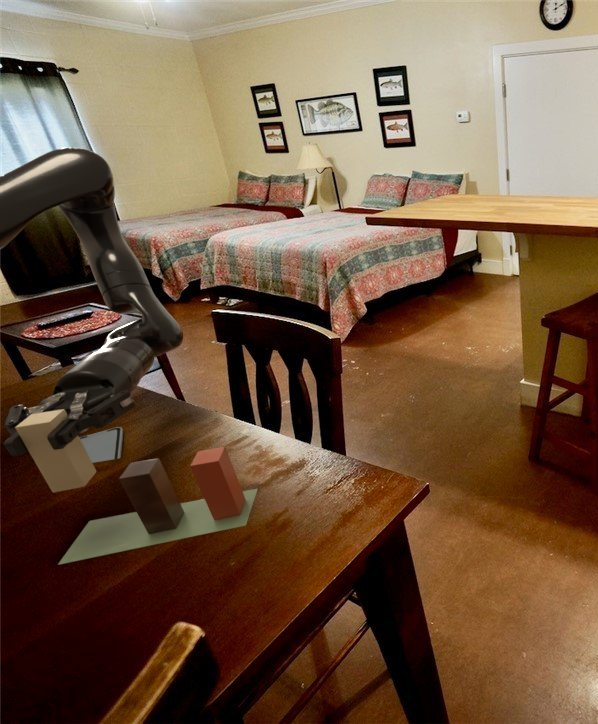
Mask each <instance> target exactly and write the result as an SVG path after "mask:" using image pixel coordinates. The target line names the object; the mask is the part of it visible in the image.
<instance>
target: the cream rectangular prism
mask: <svg viewBox="0 0 598 724" xmlns="http://www.w3.org/2000/svg"><path fill="white" fill-rule="evenodd" d="M63 420H69V419H68V415H67V413H66V411H65V409H62V410H55V411H49V412H42V413H36V414H31V415H30V416H29V417H27V418H26V419H25V420H24V421H22V422H21V423H20V424H19V425H17V426H16V427H15V428H16V430H17V432H18V434H19V435H20V437H21V439H22V440H23V442H24V444H25V446H26V447H27V449H28V450H27V451H28V453H29V455H30V456H31V458H32V460H33V461H34V463H35V465H36V466H37V468H38V470H39V471H40V473H41V475H42V477H43V479H44V480H45V482H46V484H47V485H48V487H49V489H50V491H51V492H52V493H54V494H55V493H58V492H64V491H69V490H75V489H79V488H84V487H86V485H88V483H89V482H90V480H91V479H93V477H94V476H95V475H96V473H97V469H96V468H95V465H94V463H92V462H91V460H90V458H89V456H88V454H87V452H86V450H85V448H84V446H83V444H82V442H81V440H80V438H79V437H80V436H79V434H78V435H77V436H76V438H75V439H74V440H73V441H72V442H70V443H69V444H67V445H66V446H65V447H64V448H63V449H58V450H54V449H53V448H52V446H51V445H50V443H49V441H48V439H47V436H48V434H49V433H50V432H52V431H53V430H54V429H55V428H56V427H57V426H58V425H59V424H60V423H61V422H62V421H63Z"/></svg>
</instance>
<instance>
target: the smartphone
mask: <svg viewBox="0 0 598 724" xmlns="http://www.w3.org/2000/svg"><path fill="white" fill-rule="evenodd" d="M79 438H80V440H81V442H82V444H83V446H84V448H85V450H86V452H87V454H88V456H89V458H90V460H91V462H92V463H93V464H94V463H101V462H107V461H112V460H119V459H121V458H122V451H123V439H124V429H123V427H121V426H116V427H113V428H110V429H109V428H108V429H105V430H101V431H98V432H95V433H90V434H87V435H83V436H79Z"/></svg>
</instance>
